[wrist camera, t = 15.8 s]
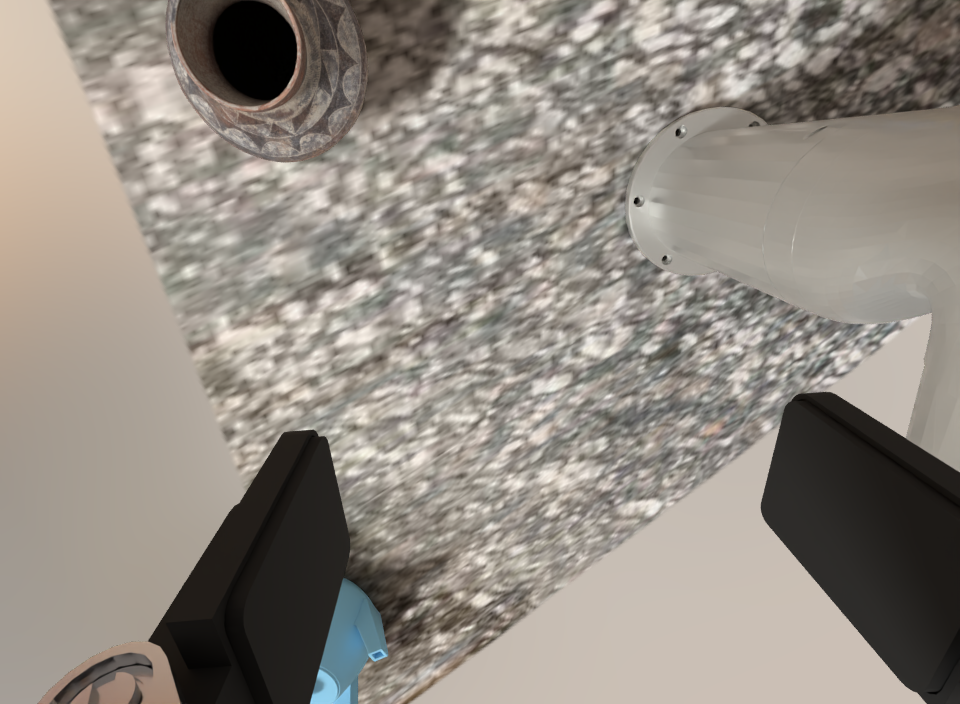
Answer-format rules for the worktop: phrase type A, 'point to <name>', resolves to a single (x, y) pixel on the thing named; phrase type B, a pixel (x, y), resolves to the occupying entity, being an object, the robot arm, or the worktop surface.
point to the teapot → (349, 646)
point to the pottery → (271, 71)
